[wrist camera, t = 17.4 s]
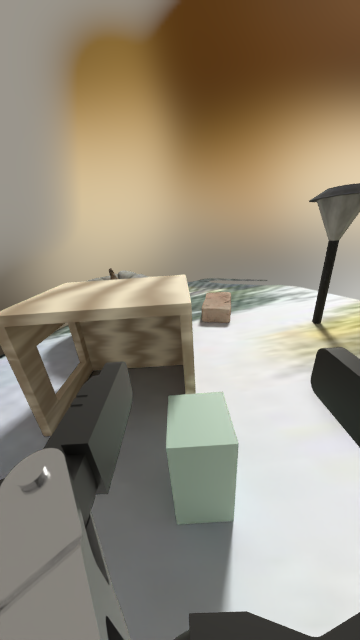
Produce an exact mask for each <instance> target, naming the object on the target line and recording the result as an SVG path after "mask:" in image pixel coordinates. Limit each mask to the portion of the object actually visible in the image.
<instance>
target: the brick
mask: <svg viewBox="0 0 360 640" xmlns="http://www.w3.org/2000/svg"><path fill="white" fill-rule="evenodd" d="M230 315H231V293H228V292H220V293H218V292H217V293H207V294H206V299H205V301H204V303H203V306H202V321H203V322H220V323H229V322H230Z"/></svg>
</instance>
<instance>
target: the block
mask: <svg viewBox="0 0 360 640" xmlns="http://www.w3.org/2000/svg"><path fill="white" fill-rule="evenodd" d="M166 452H167V459H168V466H169V473H170V480H171V487H172V494H173V501H174V508H175V515H176V522H177V525H181V524H197V523H213V522H229V521H234V506H235V490H236V474H237V458H238V441H237V437H236V434H235V431H234V427H233V424H232V421H231V417H230V414H229V411H228V407H227V404H226V401H225V397H224V394H223V392H213V393H198V394H183V395H169V396H168V415H167V438H166Z"/></svg>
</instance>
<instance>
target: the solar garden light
mask: <svg viewBox="0 0 360 640" xmlns="http://www.w3.org/2000/svg"><path fill="white" fill-rule="evenodd" d="M309 202H317V203H318V206H319V210H320V213H321V216H322V220H323V223H324V226H325V229H326V232H327V236H328V239H329V242H328V247H327V252H326V257H325V262H324V267H323V271H322V276H321V281H320V286H319V291H318V296H317V301H316V306H315V310H314V315H313V320H312V322H313V323H321V319H322V315H323V310H324V306H325V301H326V297H327V292H328V288H329V283H330V279H331V274H332V270H333V266H334V261H335V256H336V252H337V247H338V243H339V240H340V238H341V237H342V235H343V234H344V233H345V231H346V230H347V229H348V227H349V226H350V224H351V223H352V222H353V220H354V219H355V218H356V216H357V215H358V213H359V212H360V183H359V184H350V185H343V186H338V187H333V188H329V189H327V190H325V191H324V192H322V193H321V194H319V195H318V196H316V197H315V198H313V199H312V200H310V201H309Z"/></svg>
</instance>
